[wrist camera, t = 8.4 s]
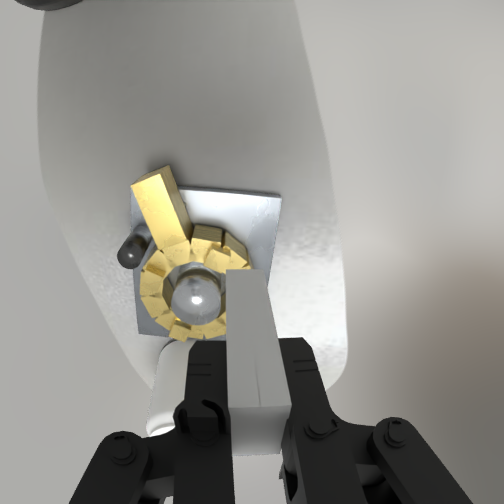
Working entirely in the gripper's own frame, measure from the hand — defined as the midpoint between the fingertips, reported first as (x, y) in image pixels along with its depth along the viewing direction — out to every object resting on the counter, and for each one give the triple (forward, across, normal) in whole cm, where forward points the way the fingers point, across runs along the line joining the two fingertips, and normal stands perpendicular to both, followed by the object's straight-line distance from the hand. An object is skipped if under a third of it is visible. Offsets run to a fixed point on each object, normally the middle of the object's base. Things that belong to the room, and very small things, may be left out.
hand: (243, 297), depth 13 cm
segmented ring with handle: (+15, -4, -5) cm, 16 cm away
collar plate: (+16, -3, -8) cm, 18 cm away
